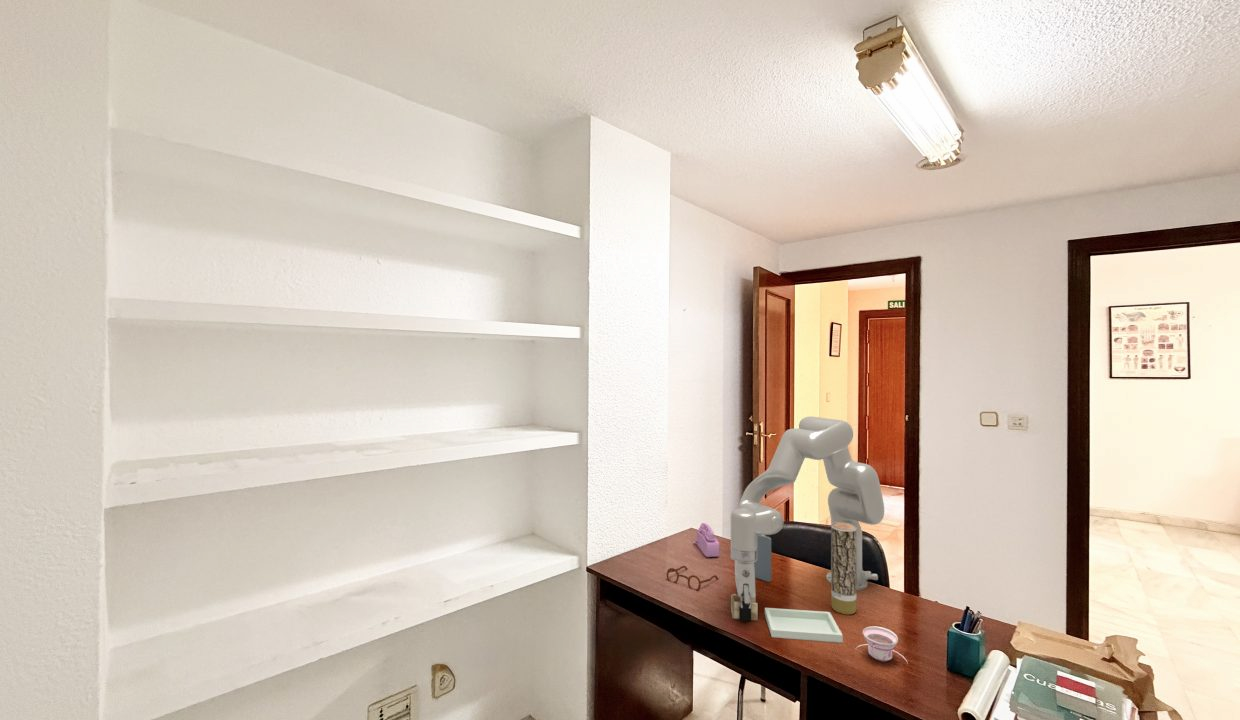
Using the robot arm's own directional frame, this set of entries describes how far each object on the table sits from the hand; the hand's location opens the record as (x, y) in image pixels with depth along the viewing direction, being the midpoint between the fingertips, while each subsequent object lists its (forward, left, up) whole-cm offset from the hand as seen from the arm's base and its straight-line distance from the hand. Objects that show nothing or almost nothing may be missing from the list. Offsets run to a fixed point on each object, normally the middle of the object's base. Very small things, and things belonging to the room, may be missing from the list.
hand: (743, 614), depth 143 cm
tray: (-15, +5, -1) cm, 16 cm away
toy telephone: (+9, -50, -1) cm, 51 cm away
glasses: (+14, -22, -1) cm, 26 cm away
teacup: (-31, +16, -1) cm, 35 cm away
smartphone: (-8, -26, -1) cm, 27 cm away
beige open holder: (0, 0, -1) cm, 1 cm away
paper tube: (-30, -8, -1) cm, 31 cm away
